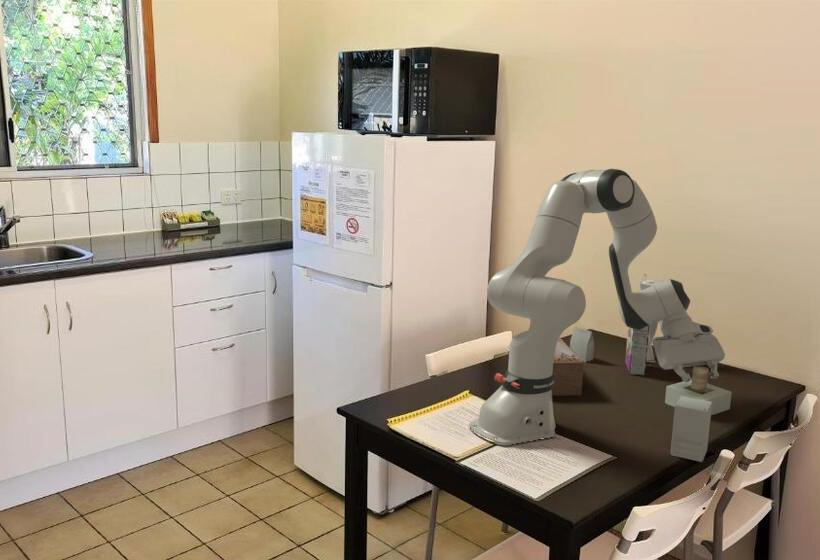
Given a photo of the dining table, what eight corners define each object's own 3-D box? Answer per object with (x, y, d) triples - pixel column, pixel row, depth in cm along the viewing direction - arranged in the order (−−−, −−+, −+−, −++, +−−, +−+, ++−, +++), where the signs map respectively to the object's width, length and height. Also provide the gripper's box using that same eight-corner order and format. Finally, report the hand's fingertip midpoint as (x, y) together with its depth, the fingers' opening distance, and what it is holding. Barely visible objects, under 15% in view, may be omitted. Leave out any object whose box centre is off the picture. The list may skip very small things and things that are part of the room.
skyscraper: (624, 355, 245) (632, 273, 239) (647, 354, 246) (655, 272, 240) (636, 363, 237) (644, 279, 231) (659, 362, 238) (668, 278, 232)
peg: (698, 410, 200) (702, 371, 197) (685, 405, 203) (690, 367, 200) (707, 407, 202) (712, 369, 199) (694, 402, 205) (699, 364, 203)
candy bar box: (623, 363, 237) (628, 313, 233) (640, 364, 236) (644, 314, 232) (628, 374, 226) (633, 323, 222) (645, 376, 225) (650, 324, 221)
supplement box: (707, 451, 175) (713, 401, 172) (702, 463, 169) (708, 411, 166) (675, 443, 179) (680, 394, 176) (669, 455, 173) (674, 404, 170)
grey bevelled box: (585, 362, 236) (587, 332, 234) (569, 356, 241) (571, 327, 239) (592, 360, 238) (595, 330, 236) (576, 354, 244) (578, 325, 241)
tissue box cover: (581, 395, 209) (583, 362, 206) (531, 396, 207) (533, 363, 205) (555, 365, 234) (557, 335, 231) (510, 365, 232) (512, 335, 230)
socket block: (702, 418, 194) (704, 400, 193) (664, 403, 204) (666, 386, 203) (729, 409, 201) (731, 391, 200) (691, 394, 210) (693, 378, 209)
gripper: (656, 332, 201) (677, 378, 194) (715, 326, 208) (737, 370, 201) (644, 343, 206) (664, 388, 199) (702, 336, 213) (723, 380, 206)
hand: (701, 379), depth 200 cm, fingers open, 8 cm apart
